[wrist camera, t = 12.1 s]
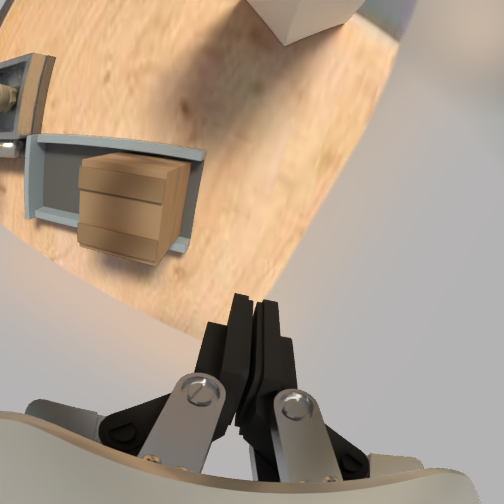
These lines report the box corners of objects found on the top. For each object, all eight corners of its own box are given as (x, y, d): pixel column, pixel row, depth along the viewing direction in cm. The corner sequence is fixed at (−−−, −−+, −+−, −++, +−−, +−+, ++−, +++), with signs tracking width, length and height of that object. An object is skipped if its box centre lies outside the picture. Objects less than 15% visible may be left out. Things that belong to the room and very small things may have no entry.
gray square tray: (-8, 153, 22) (-28, 158, 19) (5, 69, 18) (-15, 68, 14) (38, 156, 23) (15, 161, 19) (55, 57, 18) (34, 52, 15)
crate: (116, 219, 26) (77, 247, 19) (123, 151, 23) (80, 160, 16) (179, 233, 26) (155, 268, 19) (191, 162, 23) (166, 172, 17)
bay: (40, 210, 26) (25, 218, 23) (43, 133, 22) (27, 135, 19) (189, 245, 27) (182, 257, 24) (206, 150, 23) (199, 152, 21)
